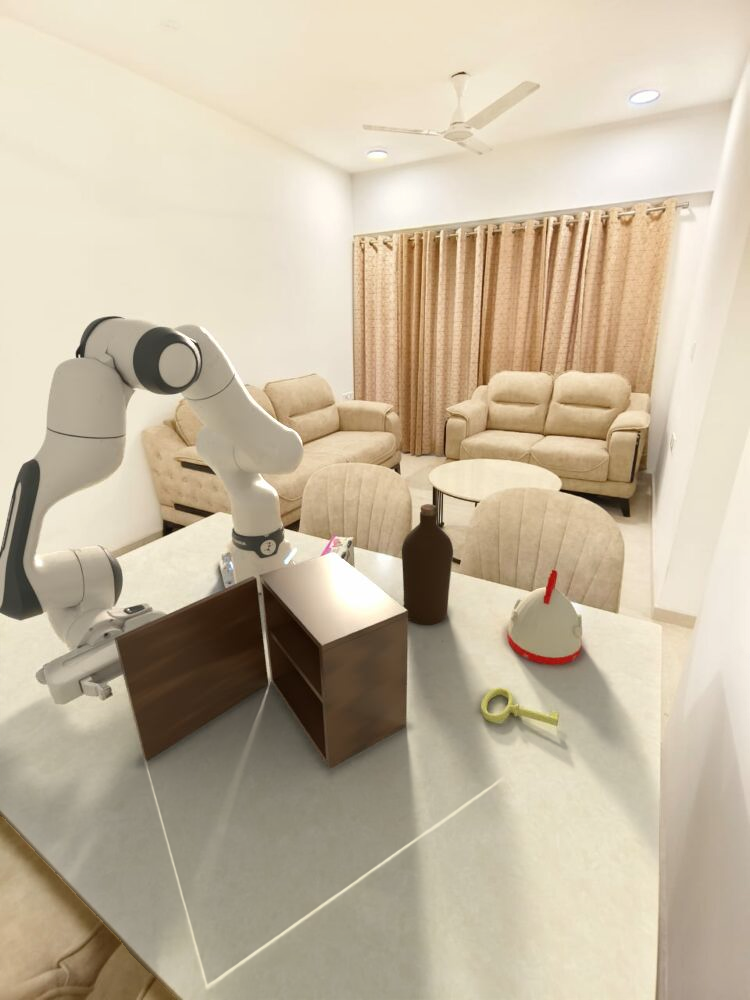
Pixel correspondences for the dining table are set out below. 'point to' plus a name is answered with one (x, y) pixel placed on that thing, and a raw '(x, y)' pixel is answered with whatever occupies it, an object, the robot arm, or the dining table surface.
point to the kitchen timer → (546, 626)
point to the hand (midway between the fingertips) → (139, 677)
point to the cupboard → (336, 654)
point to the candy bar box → (341, 548)
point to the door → (193, 664)
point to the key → (514, 709)
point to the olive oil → (427, 569)
